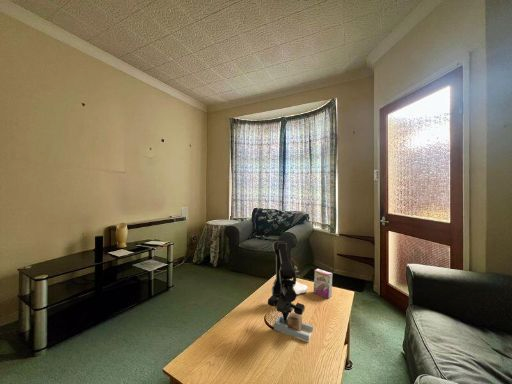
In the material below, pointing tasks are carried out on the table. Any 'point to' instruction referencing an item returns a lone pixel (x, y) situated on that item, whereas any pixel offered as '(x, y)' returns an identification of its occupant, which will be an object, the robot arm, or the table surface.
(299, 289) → the figurine
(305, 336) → the chute
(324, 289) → the candy bar box
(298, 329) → the walnut block
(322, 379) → the table surface
